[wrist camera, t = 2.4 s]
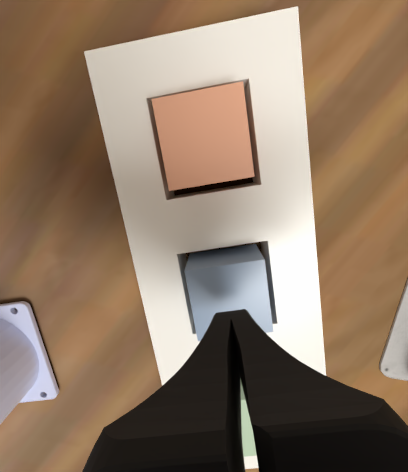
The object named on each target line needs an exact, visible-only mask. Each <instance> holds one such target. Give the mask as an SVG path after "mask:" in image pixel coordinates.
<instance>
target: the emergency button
mask: <svg viewBox="0 0 408 472" xmlns="http://www.w3.org/2000/svg"><path fill="white" fill-rule="evenodd" d="M379 369H380V371H381V372H382V373H383V374H384V375H385V376H387V377H390V378H393V379H400V380H407V381H408V279H407V282H406V285H405V288H404V291H403V294H402V297H401V300H400V303H399V306H398V309H397V312H396V315H395V318H394V321H393V324H392V327H391V330H390V333H389V336H388V339H387V342H386V345H385V348H384V351H383V354H382V357H381V360H380V363H379Z"/></svg>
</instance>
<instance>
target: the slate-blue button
mask: <svg viewBox="0 0 408 472" xmlns="http://www.w3.org/2000/svg"><path fill="white" fill-rule="evenodd" d="M184 272H185V277H186V282H187V287H188V292H189V298H190V303H191V308H192V313H193V318H194V324H195V329H196V334H197V339H198V341H201V339H202V338H203V336H204V334H205V332H206V331H207V329H208V327H209V325H210V323H211V321H212V319H213V316H214V315H215V313H218V312H226V311H234V310H241V309H246V310H247V311H248V312H249V314H250V315H251V317H252V318H253V319H254V321H255V322H256V323H257V324H258V325H259V326H260V328H261V329H262V330H263V331H264V332H265V333H268V332H273V324H272V316H271V307H270V299H269V291H268V283H267V275H266V266H265V259H264V257H263V256H262V254H261V252H260V251H259V249H258V247H257V245H256V244H251V245H244V246H237V247H231V248H224V249H217V250H210V251H204V252H197V253H190V255H189V258H188V261H187V264H186V267H185V271H184Z"/></svg>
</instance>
